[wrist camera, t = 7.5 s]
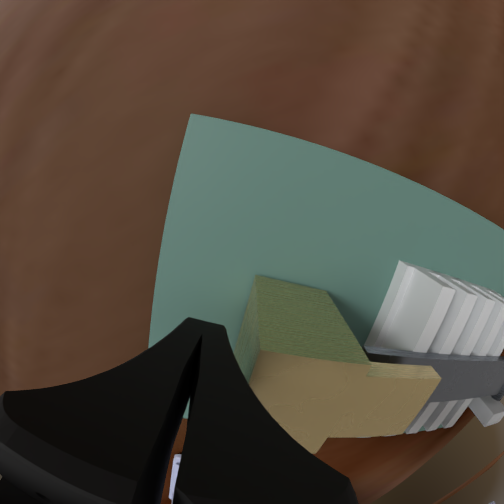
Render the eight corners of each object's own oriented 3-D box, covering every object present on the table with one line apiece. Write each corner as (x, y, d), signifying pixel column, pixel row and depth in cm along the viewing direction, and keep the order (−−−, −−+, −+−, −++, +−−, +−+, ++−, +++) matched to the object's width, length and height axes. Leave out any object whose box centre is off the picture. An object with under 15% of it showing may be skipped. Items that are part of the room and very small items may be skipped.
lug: (360, 374, 13) (396, 448, 8) (232, 355, 12) (225, 445, 7) (393, 305, 12) (454, 369, 7) (255, 274, 11) (260, 349, 6)
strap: (495, 391, 11) (502, 400, 10) (331, 397, 10) (337, 413, 9) (520, 348, 10) (529, 356, 9) (364, 332, 9) (375, 347, 8)
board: (446, 418, 16) (473, 460, 11) (149, 395, 14) (122, 466, 9) (530, 250, 12) (582, 273, 7) (195, 118, 11) (154, 76, 5)
